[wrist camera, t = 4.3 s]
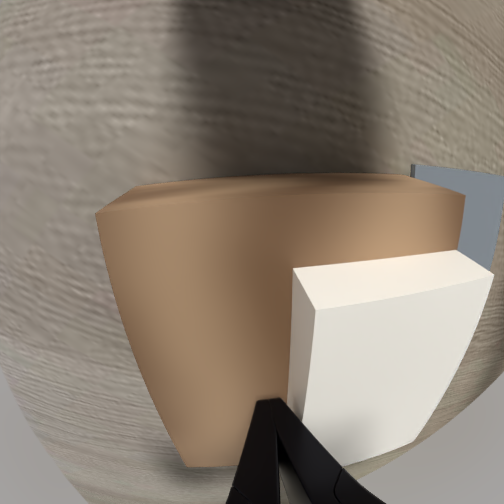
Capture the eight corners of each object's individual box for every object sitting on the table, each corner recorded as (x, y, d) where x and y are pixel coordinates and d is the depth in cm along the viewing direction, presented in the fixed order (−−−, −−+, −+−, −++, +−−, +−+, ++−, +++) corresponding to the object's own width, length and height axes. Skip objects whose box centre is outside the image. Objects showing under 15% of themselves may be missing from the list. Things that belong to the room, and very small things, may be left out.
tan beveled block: (402, 174, 11) (465, 195, 7) (363, 386, 16) (387, 433, 12) (136, 186, 10) (95, 213, 6) (188, 411, 15) (186, 467, 11)
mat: (502, 176, 12) (506, 177, 11) (453, 360, 17) (455, 362, 17) (411, 164, 11) (415, 165, 11) (368, 389, 16) (370, 392, 16)
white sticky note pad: (455, 249, 8) (494, 274, 6) (397, 413, 12) (413, 441, 10) (292, 268, 8) (315, 310, 6) (283, 442, 11) (292, 477, 9)
